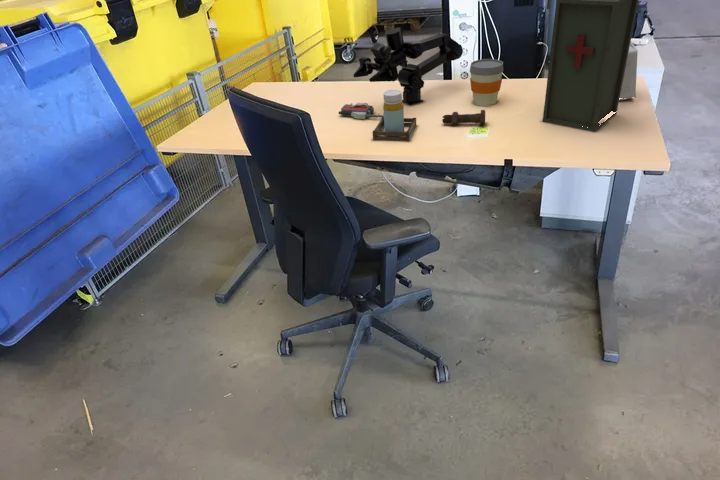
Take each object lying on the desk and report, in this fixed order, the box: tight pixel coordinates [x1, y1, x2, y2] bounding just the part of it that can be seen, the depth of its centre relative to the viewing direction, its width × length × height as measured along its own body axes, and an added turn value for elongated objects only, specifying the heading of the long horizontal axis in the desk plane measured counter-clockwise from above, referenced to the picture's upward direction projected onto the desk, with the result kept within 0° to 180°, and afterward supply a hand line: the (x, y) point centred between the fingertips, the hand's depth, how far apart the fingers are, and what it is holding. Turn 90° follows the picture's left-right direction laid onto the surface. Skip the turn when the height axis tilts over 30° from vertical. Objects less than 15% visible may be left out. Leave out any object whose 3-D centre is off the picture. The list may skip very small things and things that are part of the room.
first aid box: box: [542, 0, 640, 133], centre depth 172 cm, size 18×18×40 cm
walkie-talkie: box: [337, 102, 384, 120], centre depth 202 cm, size 9×4×20 cm
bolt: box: [441, 109, 486, 127], centre depth 186 cm, size 6×5×15 cm
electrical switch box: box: [619, 40, 638, 101], centre depth 194 cm, size 15×15×20 cm
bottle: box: [382, 89, 405, 132], centre depth 182 cm, size 7×7×15 cm
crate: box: [372, 117, 417, 142], centre depth 186 cm, size 14×13×3 cm
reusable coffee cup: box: [469, 58, 504, 107], centre depth 200 cm, size 13×13×15 cm
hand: (361, 78), depth 191 cm, fingers open, 9 cm apart
